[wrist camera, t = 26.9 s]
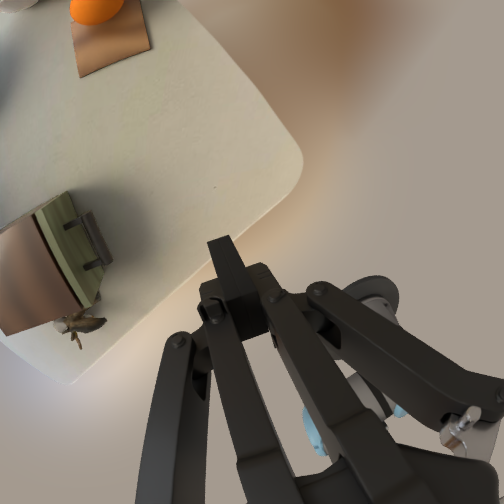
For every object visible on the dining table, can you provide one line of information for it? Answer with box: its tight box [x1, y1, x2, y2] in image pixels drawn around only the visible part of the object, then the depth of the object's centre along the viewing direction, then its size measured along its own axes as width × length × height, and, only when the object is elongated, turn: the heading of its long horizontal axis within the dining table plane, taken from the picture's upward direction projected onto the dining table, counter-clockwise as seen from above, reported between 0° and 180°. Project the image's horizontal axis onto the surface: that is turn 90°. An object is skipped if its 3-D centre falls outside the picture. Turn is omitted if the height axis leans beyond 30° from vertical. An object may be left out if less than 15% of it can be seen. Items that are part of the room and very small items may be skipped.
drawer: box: [35, 191, 113, 308], centre depth 29 cm, size 22×14×9 cm, turn 104°
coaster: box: [71, 0, 150, 78], centre depth 22 cm, size 10×10×1 cm
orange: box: [70, 0, 124, 26], centre depth 17 cm, size 7×7×7 cm
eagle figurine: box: [53, 291, 107, 350], centre depth 35 cm, size 8×7×9 cm
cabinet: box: [0, 196, 84, 336], centre depth 28 cm, size 18×14×9 cm
